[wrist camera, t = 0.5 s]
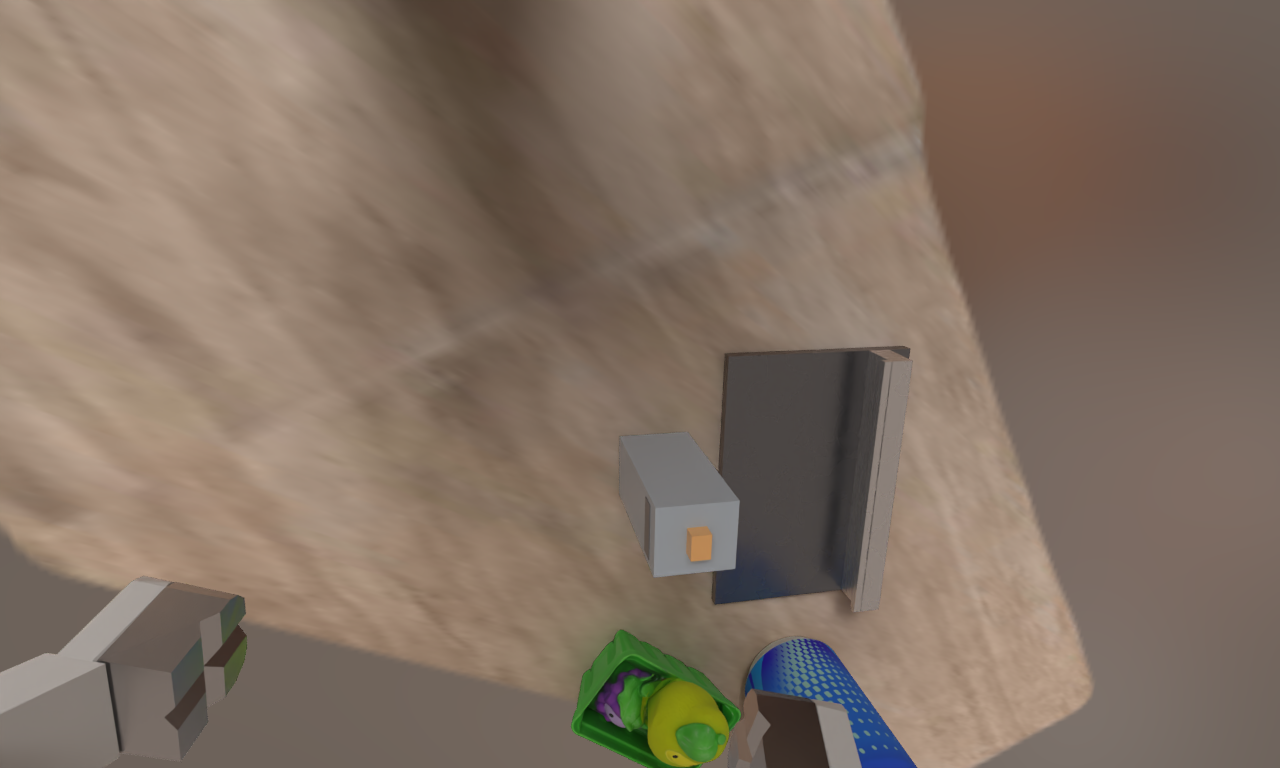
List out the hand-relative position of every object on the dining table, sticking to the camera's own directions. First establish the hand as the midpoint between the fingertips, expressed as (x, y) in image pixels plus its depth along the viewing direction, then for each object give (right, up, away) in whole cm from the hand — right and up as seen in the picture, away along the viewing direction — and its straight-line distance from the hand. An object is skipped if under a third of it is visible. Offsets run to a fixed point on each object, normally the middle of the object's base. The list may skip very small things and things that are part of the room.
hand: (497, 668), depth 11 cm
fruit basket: (+3, -18, +46) cm, 49 cm away
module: (+3, -1, +40) cm, 40 cm away
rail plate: (+15, -2, +43) cm, 46 cm away
